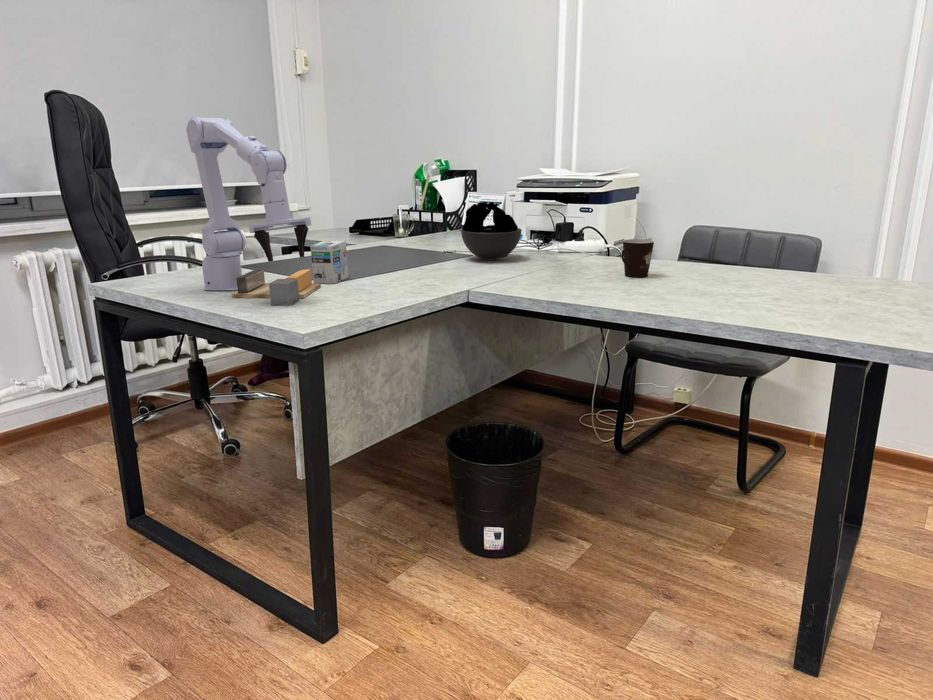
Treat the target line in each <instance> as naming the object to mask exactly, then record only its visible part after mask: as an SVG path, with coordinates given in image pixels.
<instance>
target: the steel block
mask: <svg viewBox="0 0 933 700" xmlns="http://www.w3.org/2000/svg"><path fill="white" fill-rule="evenodd" d="M268 283H269V290H270V298H269V299H270V306H275V307H276V306H278V307H283V306H285V307H292V306H293V305H295V304H297V302H299V301H300V298H299V290H298V279H285V278H277V279H275V280H273V281H271V282H268Z"/></svg>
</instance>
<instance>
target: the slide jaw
mask: <svg viewBox="0 0 933 700" xmlns="http://www.w3.org/2000/svg"><path fill="white" fill-rule="evenodd" d="M284 279H298V290H299V291H301V290H303V289H304V288H306V287H307V286H309V285H311V284H313V275H312V269H301V270H298V271H296V272H295V273H292V274H291V275H289V276H287V277H285V278H284Z"/></svg>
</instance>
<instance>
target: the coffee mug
mask: <svg viewBox="0 0 933 700" xmlns="http://www.w3.org/2000/svg"><path fill="white" fill-rule="evenodd" d="M654 243H655V240H652V239H646V238H645V239H644V238H643V239H642V238H629V239H624V240H622V251H621V255H620V256H621V257H620V258H621V261H622V263H623V267H624V268H623V269H624V277H626V278H631V279H645V278H648V276H649V270H650V265H651V260H652V255H653V250H654Z"/></svg>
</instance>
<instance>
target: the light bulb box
mask: <svg viewBox="0 0 933 700" xmlns="http://www.w3.org/2000/svg"><path fill="white" fill-rule="evenodd" d="M310 253H311V254H310V255H311V265H312V269H311V270H312V282H313V284H330V285H331V284H332V285H333V284H337V283H340V282H341V280H342V281H343V280H346V279H348V278H349V268H348V253H347V242H346V240H324V241H321V242H320V241H319V242H317V243H314V244H311V245H310Z"/></svg>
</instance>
